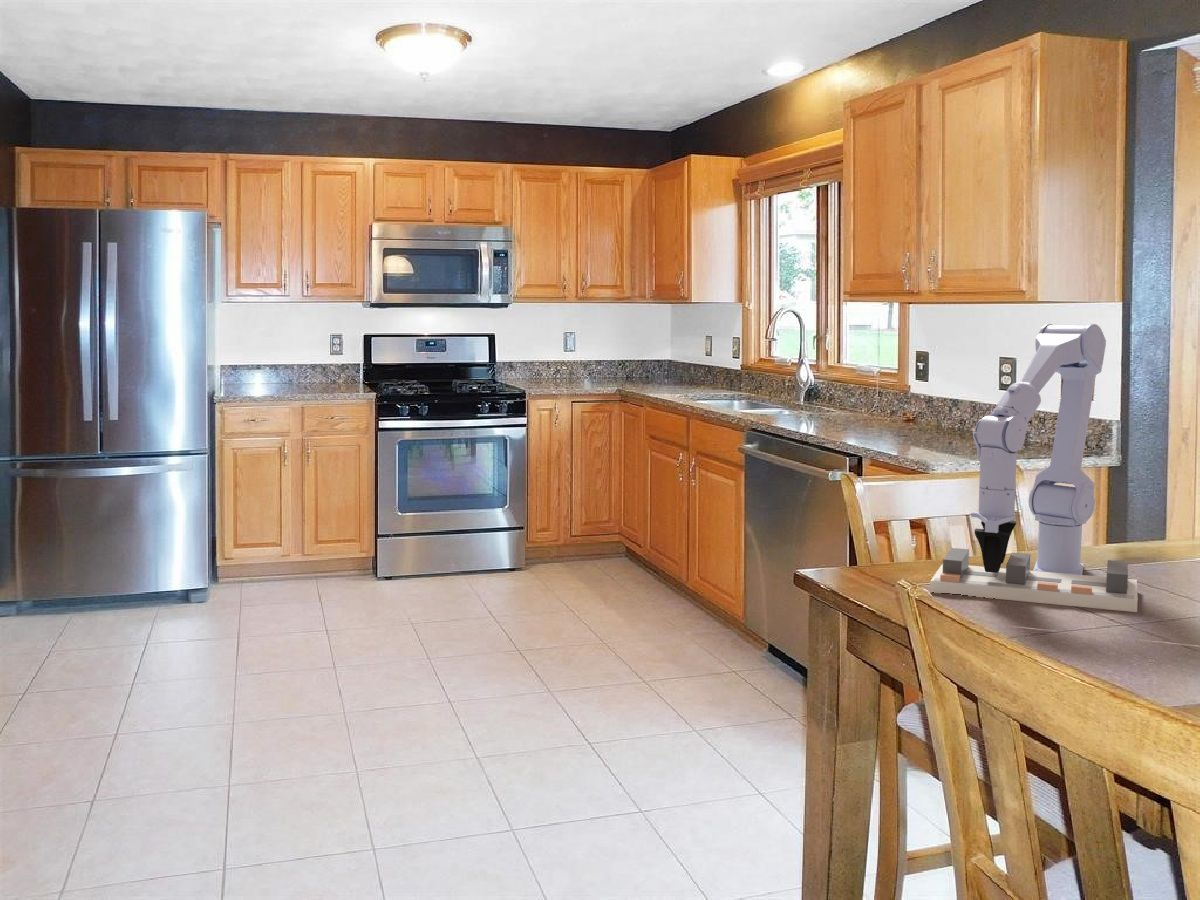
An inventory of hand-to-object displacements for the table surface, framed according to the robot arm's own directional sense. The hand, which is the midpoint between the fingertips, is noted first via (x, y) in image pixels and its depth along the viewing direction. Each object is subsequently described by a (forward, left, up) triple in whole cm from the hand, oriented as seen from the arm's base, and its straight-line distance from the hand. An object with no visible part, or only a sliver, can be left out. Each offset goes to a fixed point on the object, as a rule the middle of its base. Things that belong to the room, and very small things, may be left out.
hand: (994, 567), depth 187 cm
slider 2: (0, +19, -1) cm, 19 cm away
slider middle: (0, +4, -1) cm, 4 cm away
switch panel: (+1, +6, -3) cm, 7 cm away
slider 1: (0, -6, -1) cm, 6 cm away
